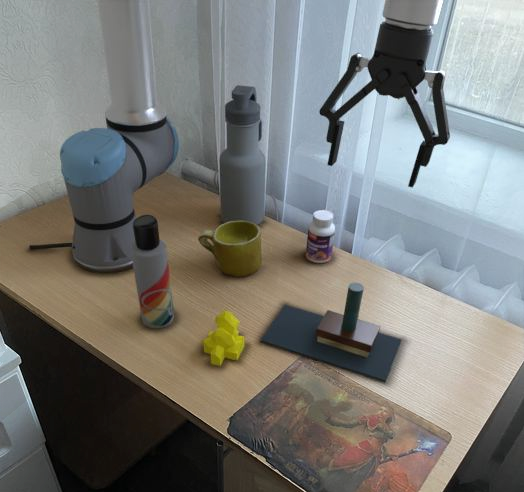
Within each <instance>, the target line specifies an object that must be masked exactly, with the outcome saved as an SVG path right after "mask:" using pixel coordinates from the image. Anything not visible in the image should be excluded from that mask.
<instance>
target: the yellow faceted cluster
mask: <svg viewBox="0 0 524 492" xmlns="http://www.w3.org/2000/svg"><path fill="white" fill-rule="evenodd" d="M214 321H215V323H216V326H217V328H216V329H215V330H214V331H209V333H208V337H205V338H204V339H203V353H205V354H208V355H210V364H211V365H214V366H218V367H221V366H222V364H223V362H224V360H225V359H228V360H232V361H236V362H237V361H238V360H239V358H240V357H241V354H242V352H243V350H244V349H245V347H246V345H245V344H246V343H245V339H246V338H245V336H244V335H239V333H240V332H239V331H238V328H239V326H240V324H241V321H240V320H239V319H238V318H237V317H236V316H234V314H233V313H232V312H230V311H229V310H227V309H225V310H224V311H222V312H221V313H220V314H217V316H215V318H214Z"/></svg>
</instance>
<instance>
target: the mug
mask: <svg viewBox="0 0 524 492" xmlns="http://www.w3.org/2000/svg"><path fill="white" fill-rule="evenodd" d="M208 239H209V240H210V241H211V242H210V241H209V240H208ZM197 240H198V242H199V244H200V245H201V246H202V247H203V248H204V249H205V250H207V251H208V252H210V253H211V254H212V256H213V257H214V259H215V262H216V263H217V265H218V267H219V268H220V270H221V272H223V273H224V274H226V275H229V276H234V277H237V278H243V277H245V278H246V277H248V276H251V275H252V274H254V273H255V272H257V271H258V270H260V268H261V265H262V234H261V228H260V226H258V225H256V224H254V223H252V222H248V221H230V222H227V223H224V222H223V223H222V224H220V225H218V226H217V228H216V229H215V231H212V230H210V229H205V230H203V231H202V232H201V233H200V234H199V236H198V239H197Z"/></svg>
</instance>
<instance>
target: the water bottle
mask: <svg viewBox="0 0 524 492" xmlns="http://www.w3.org/2000/svg"><path fill="white" fill-rule="evenodd" d="M231 99H232V100H229V101H227V102H226V103H225V105H224V122H225V123H226V148H225V149H223V150H222V151H221V153H220V155H219V158H218V159H219V160H218V162H219V196H220V198H219V199H220V218H221V220H222V222H223V224H224V223H227V222H230V221H248V222H252V223H254V224H256V225H257V226H258V225H259V224H262V222H263V220H264V216H265V190H266V185H265V184H266V156H265V153H263V151H262V150H261V149H260V148H259V142H260V141H261V139H262V137H263V121H262V119H261V105H260V103H258V102H257V100H258V99H257V89H256V87H255V86H250V85H240V84H237V85H235V86H234V88H233V89H232V90H231Z"/></svg>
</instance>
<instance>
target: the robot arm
mask: <svg viewBox="0 0 524 492" xmlns="http://www.w3.org/2000/svg"><path fill="white" fill-rule="evenodd" d="M96 1H97V8H98V15H99V22H100V29H101V36H102V44H103V51H104V58H105V66H106V72H107V78H108V79H107V80H108V86H109V94H110V100H111V103H110V105H109V106H108V107H107V108H106V109H105V111H104V117H105V123H106V127H95V128H89V129H88V130H84V129H83V130H81V131H78V132H76V133H73V134H72V135H70V136H69V137H68V138H66V139H65V140H64V142H63V143H62V145H61V147H60V150H59V160H60V163H61V164H60V168H61V169H60V170H61V175H62V177H63V181H64V184H65V188H66V192H67V196H68V200H69V204H70V208H71V212H72V216H73V217H72V218H73V221H74V226H73V234H72V242H60V243H59V242H58V243H45V244H30V245H28V247H29V248H28V249H29V250H35V251H36V250H47V249H58V248H59V249H60V248H71V254H72V257H73V260H74V263H75V264H76V265H77V266H78V267H79V268H81V269H83V270H85V271H87V272H92V273H97V274H114V273H121V272H125V271H128V270H130V269H133V262H132V256H131V245H132V244H133V243H134V242H135V236H134V230H133V221H134V220H135V219H136V218H137V217H136V213H135V206H134V205H135V204H134V197H133V195H134V193H136V192H137V191H138V190H140V189H142V187H144V186H146V185H147V184H149V183H150V182H151V181H153V180H154V179H156V178H157V177H159V176H161V175H163V174H165V172H166V171H167V170H168V169H169V168H170V167H172V165H173V164H174V163H175V161H176V159H177V157H178V154H179V150H180V149H179V148H180V142H179V136H178V135H179V134H178V132H177V129H176V127H175V126H173V125H172V121H171V119H170V118H169V117H168V116H167V111H166V108H164V107H163V106H162V105H161V104H160V103H159V102H158V95H157V93H158V92H157V83H156V71H155V70H156V68H155V61H154V60H155V59H154V58H155V57H154V46H153V45H154V44H153V34H152V32H153V31H152V23H151V22H152V20H151V10H150V9H151V8H150V0H96ZM443 1H444V0H384V4H383V10H382V14H381V15H382V17H383V18H384V20H385V21H384V20H383V21H382V22H381V23H380V24H379V27H378V33H377V37H376V41H375V46H374V51H373V54H372V56H371V58H369V57H367V56H363V54H362V53H361V52H357V53H355V54H353V55H351V56H350V59H349V62H348V65H347V70H346V71H345V72H344V74H343V75H342V76H341V78H340V80H338V83H337V84H336V85H335V87H334V88H333V90H332V91H331V93H330V94H329V95H328V97H327V98H326V100H325V101H324V103H323V104H322V105H321V107H320V108H319V115H320V116H321V117H324V118H326V119H327V120H328V128H327V133H326V137H325V138H326V143H329V144H330V149H329V154H328V160H327V165H326V166H329V167H333V166H334V165H335V164H336V163H337V161H338V156H339V152H340V151H339V150H340V146H341V141H342V135H343V130H344V127H345V121H344V120H340V119H341V118H342V117H344V116H345V115H346V114H347V113H349V111H350V110H352V109H353V108H354V107H355V106H357V105H358V104H359V103H360V102H361V101H362V100H364V99H365V98H366V97H367V96H369V95H370V94H371V93H372V92H373V91H374V90H375V92H376V93H377V94H378V95H379V96H383V97H386V96H390V97H392V98H393V99H396V100H400V99H403V98H404V99H405V101H406V103H407V105H408V106H409V108H410V110H411V112H412V114H413V116H414V120H415V122H416V124H417V126H418V129H419V131H420V133H421V135H422V137H423V139H424V140H422V142H421V143H420V145H419V148H418V152H417V154H416V158H415V162H414V164H413V168H412V171H411V175H410V178H409V181H408V184H407V187H408V188H411V189H412V188H414V186H415V185H416V182H417V180H418V177H419V173H420V170H421V167H424V168H426V167H428V165H429V164H430V161H431V158H432V155H433V152H434V149H435V147H436V146H438V145H442V146H445V145H446V144H448V142H449V141H450V138H451V132H450V126H449V120H448V111H447V105H446V98H445V91H444V86H445V85H444V84H445V80H446V73H447V72H446V71H445V70H444V69H440V70H438V71H434V70H427V67H426V66H427V65H426V64H427V60H428V56H429V52H430V50H431V46H432V41H433V38H434V35H435V32H434V30H433V29H432V27H434V26H436V24H438V20H439V16H440V13H441V9H442V5H443ZM365 68H367V71H368V73H369V76H370V79H371V80H370V81H369V82H368V83H366V85H364V86H363V87H362V88H360V89H359V90H358V91H357V92H356V93H355V94H354V95H352V96H351V97H350V98H349V99H348V100H347V101H346V102H345V103H343V104H342V105H341V106H340V107H339V108H337V110H335V109H334V107H335V106H336V104H337V103H338V101H339V100H340V98H341V97H342V96H343V94H344V93H345V91H346V90H347V89H348V87H349V86H350V85H351V83H352V81H353V80H354V79H355V77H356V76H357V75H358V73H361V72H362V71H363V70H364V69H365ZM423 81H427V86H428V88H430V89H431V95H432V103H433V110H434V116H435V122H436V129H437V134H436V131H435V130H434V127H433V125H432V122H431V120H430V118H429V116H428V113H427V110H426V108H425V106H424V103H423V101H422V99H421V95H420V92H419V90H418V86H419V85H420V84H421V83H422V82H423Z"/></svg>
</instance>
